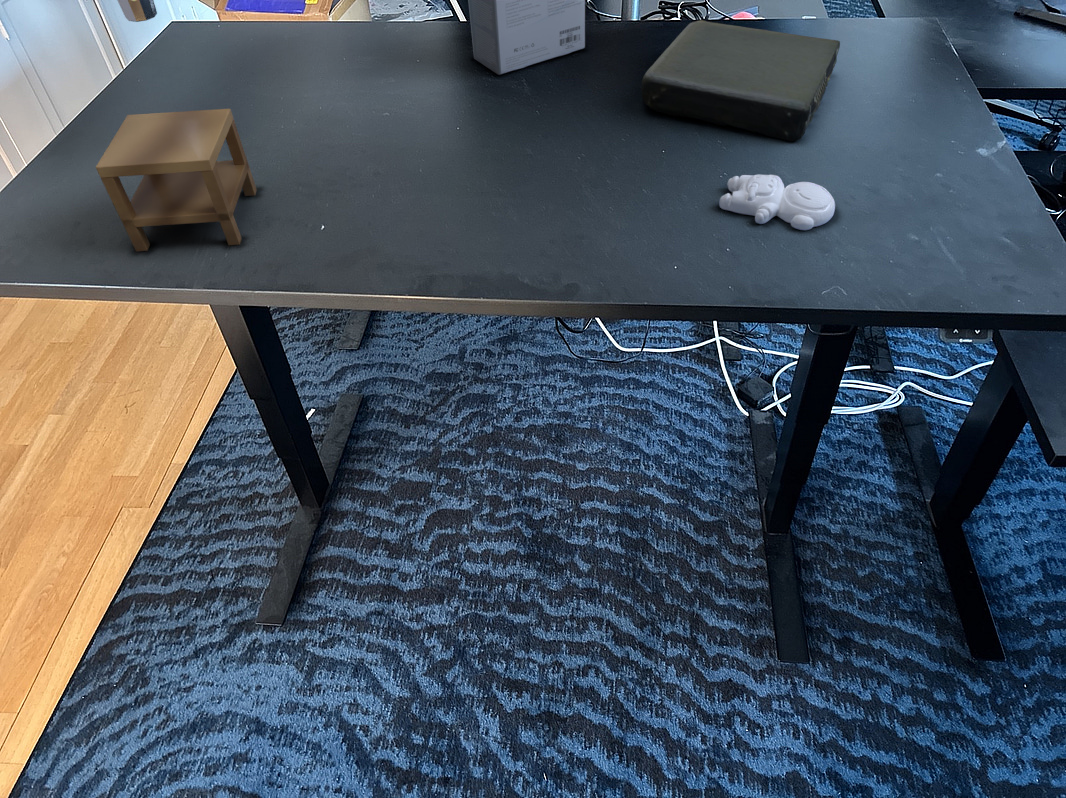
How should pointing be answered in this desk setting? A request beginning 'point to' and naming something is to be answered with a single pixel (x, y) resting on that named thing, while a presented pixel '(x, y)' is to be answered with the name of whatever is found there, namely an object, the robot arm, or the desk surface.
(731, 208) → the astronaut figurine
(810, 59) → the network switch
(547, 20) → the hard drive box
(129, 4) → the milkshake
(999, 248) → the desk surface
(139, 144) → the wooden side table
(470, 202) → the desk surface
